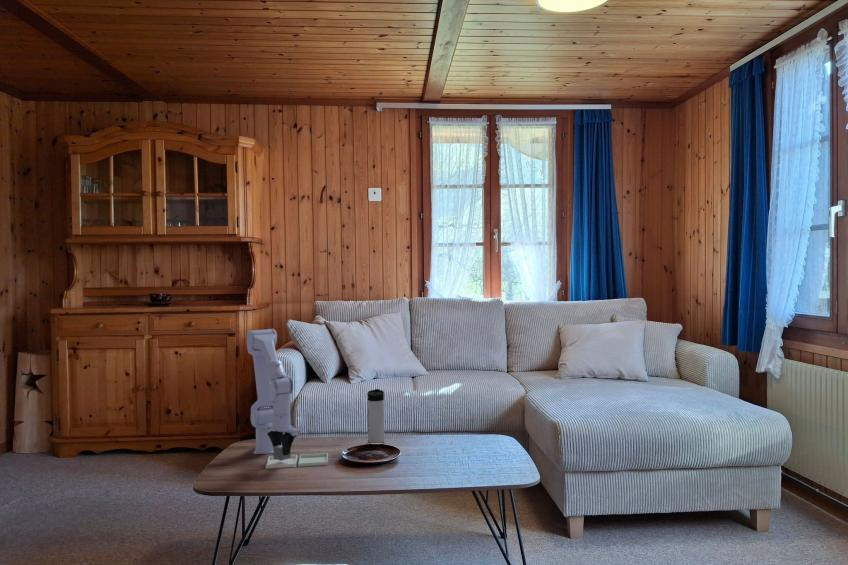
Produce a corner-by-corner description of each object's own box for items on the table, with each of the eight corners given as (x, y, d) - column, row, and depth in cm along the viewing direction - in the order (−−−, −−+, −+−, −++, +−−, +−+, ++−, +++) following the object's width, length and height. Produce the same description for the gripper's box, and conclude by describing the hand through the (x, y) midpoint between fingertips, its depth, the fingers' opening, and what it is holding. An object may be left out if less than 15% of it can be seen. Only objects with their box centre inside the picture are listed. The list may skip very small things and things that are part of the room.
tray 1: (269, 459, 193) (269, 456, 193) (297, 458, 195) (297, 454, 195) (265, 469, 184) (265, 465, 184) (295, 467, 185) (295, 463, 185)
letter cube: (273, 458, 189) (273, 446, 189) (283, 455, 192) (282, 443, 192) (281, 460, 186) (281, 448, 186) (290, 457, 190) (290, 445, 190)
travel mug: (385, 441, 214) (385, 388, 214) (382, 446, 207) (382, 392, 207) (369, 440, 215) (369, 388, 214) (366, 445, 208) (365, 392, 208)
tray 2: (300, 457, 195) (300, 454, 195) (328, 456, 196) (328, 452, 196) (298, 467, 185) (298, 463, 185) (327, 465, 187) (327, 461, 187)
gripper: (258, 412, 190) (258, 452, 190) (286, 418, 181) (286, 460, 182) (274, 408, 196) (275, 447, 196) (303, 414, 187) (303, 454, 187)
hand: (282, 453), depth 189 cm, fingers closed on letter cube, 4 cm apart
